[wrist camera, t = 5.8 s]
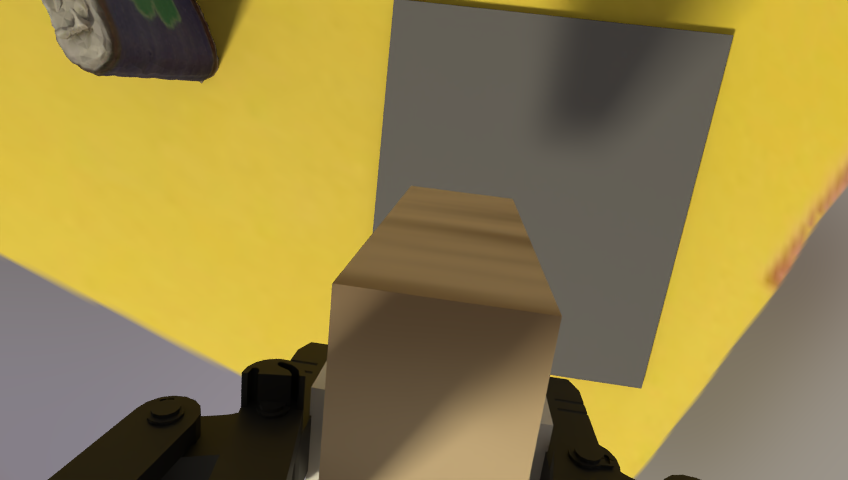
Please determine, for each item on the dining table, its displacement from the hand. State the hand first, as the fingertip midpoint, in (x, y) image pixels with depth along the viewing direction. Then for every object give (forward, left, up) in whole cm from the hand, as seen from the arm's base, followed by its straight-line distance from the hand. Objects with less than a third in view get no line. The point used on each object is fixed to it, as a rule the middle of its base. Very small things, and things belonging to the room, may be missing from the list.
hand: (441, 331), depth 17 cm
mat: (-2, +4, -14) cm, 15 cm away
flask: (-11, -18, -15) cm, 26 cm away
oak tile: (0, 0, -2) cm, 2 cm away
